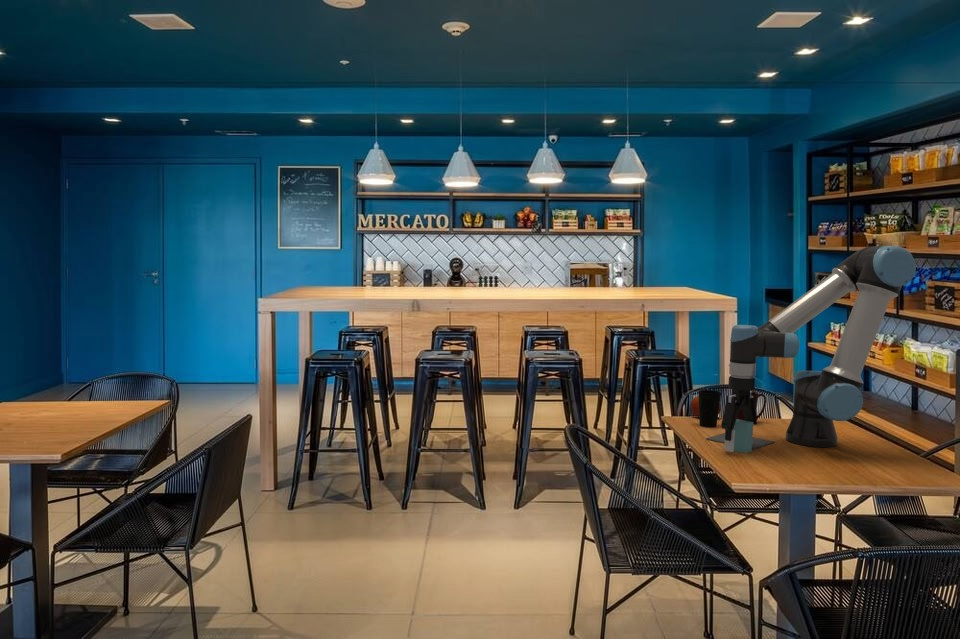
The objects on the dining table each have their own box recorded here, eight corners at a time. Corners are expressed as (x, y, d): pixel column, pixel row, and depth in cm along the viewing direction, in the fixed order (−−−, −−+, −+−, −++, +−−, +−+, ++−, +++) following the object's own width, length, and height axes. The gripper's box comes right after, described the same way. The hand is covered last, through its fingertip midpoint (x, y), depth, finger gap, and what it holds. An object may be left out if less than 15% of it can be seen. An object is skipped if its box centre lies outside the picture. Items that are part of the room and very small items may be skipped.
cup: (721, 425, 257) (723, 391, 256) (717, 429, 250) (719, 394, 249) (698, 422, 260) (700, 389, 259) (694, 426, 254) (696, 392, 253)
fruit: (720, 415, 273) (721, 394, 272) (720, 421, 263) (721, 399, 262) (690, 413, 276) (691, 392, 275) (689, 418, 266) (690, 397, 265)
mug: (760, 420, 267) (761, 390, 266) (769, 425, 258) (770, 394, 257) (726, 419, 267) (728, 389, 266) (734, 424, 258) (736, 393, 257)
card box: (730, 446, 227) (731, 418, 226) (751, 451, 222) (753, 422, 221) (724, 448, 224) (725, 419, 223) (746, 453, 219) (747, 423, 218)
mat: (727, 433, 245) (727, 432, 245) (774, 442, 233) (774, 441, 233) (706, 439, 235) (706, 438, 235) (753, 449, 223) (753, 448, 223)
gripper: (748, 371, 232) (744, 439, 234) (710, 378, 216) (707, 451, 218) (771, 374, 226) (767, 444, 228) (734, 381, 210) (730, 457, 212)
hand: (738, 447), depth 223 cm, fingers open, 11 cm apart
